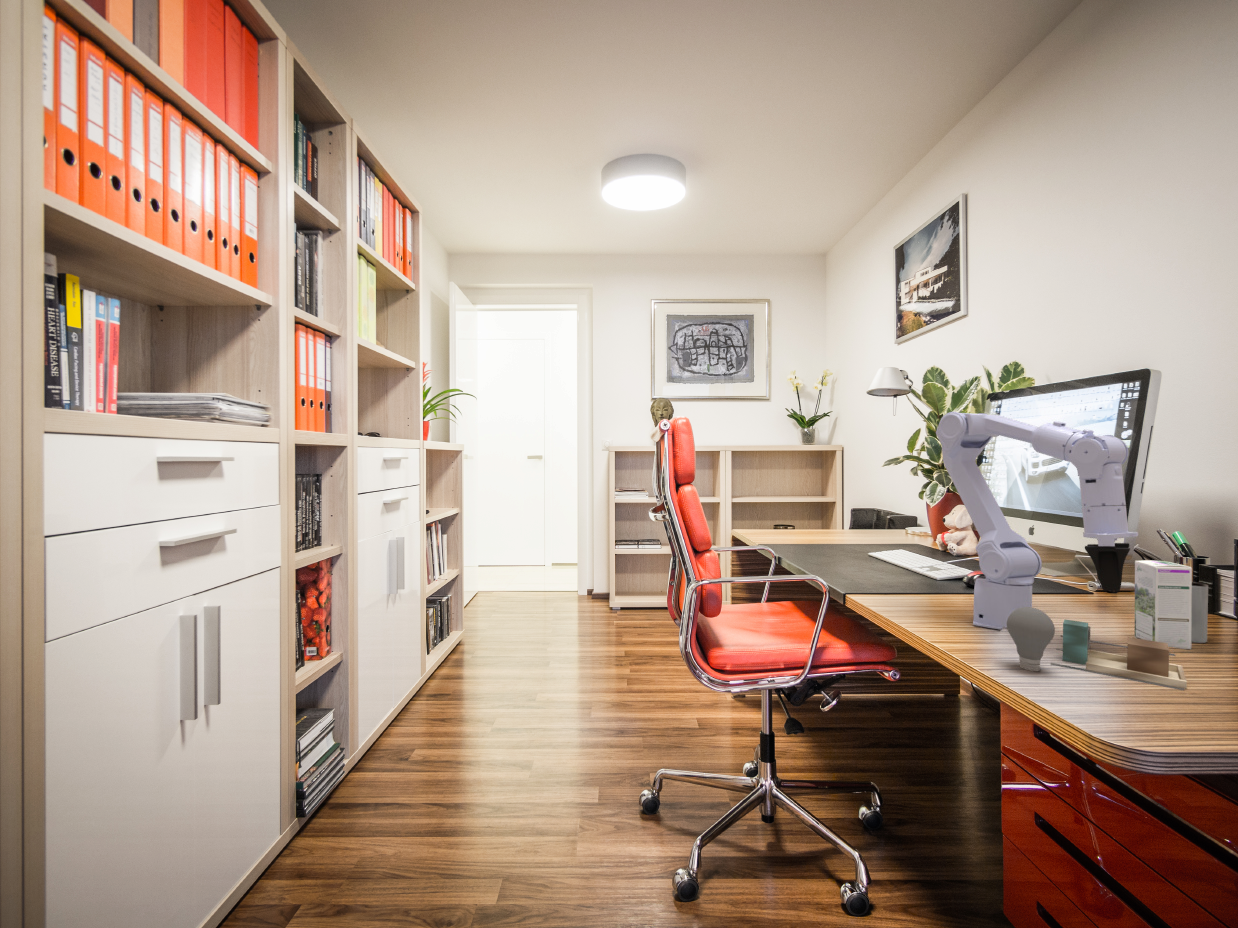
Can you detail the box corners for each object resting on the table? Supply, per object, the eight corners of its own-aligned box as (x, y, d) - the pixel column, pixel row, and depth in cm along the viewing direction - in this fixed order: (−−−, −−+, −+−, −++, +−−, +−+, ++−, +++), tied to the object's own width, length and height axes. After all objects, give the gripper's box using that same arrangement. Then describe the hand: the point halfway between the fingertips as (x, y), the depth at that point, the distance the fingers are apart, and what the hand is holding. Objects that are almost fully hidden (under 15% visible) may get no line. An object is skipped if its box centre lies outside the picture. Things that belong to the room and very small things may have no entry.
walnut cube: (1127, 673, 87) (1127, 643, 87) (1126, 665, 90) (1127, 636, 90) (1168, 681, 84) (1169, 650, 84) (1166, 672, 87) (1167, 643, 87)
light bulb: (1045, 668, 91) (1046, 604, 91) (1060, 682, 85) (1061, 614, 85) (1000, 663, 93) (1002, 601, 92) (1012, 676, 87) (1013, 610, 87)
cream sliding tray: (1061, 668, 90) (1061, 626, 90) (1065, 654, 97) (1065, 615, 97) (1186, 692, 81) (1187, 646, 81) (1181, 676, 88) (1182, 633, 88)
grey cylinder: (1165, 635, 109) (1166, 580, 109) (1187, 635, 109) (1188, 580, 109) (1191, 643, 104) (1192, 586, 104) (1214, 642, 105) (1215, 585, 104)
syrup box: (1193, 649, 101) (1195, 566, 100) (1153, 647, 102) (1155, 564, 102) (1169, 639, 106) (1170, 560, 106) (1131, 637, 107) (1133, 559, 107)
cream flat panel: (1065, 653, 98) (1066, 630, 98) (1069, 642, 104) (1069, 619, 104) (1176, 674, 89) (1177, 648, 89) (1173, 659, 95) (1173, 635, 95)
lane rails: (1050, 668, 91) (1050, 663, 91) (1060, 639, 106) (1060, 635, 106) (1184, 695, 81) (1184, 689, 81) (1174, 658, 96) (1175, 654, 96)
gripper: (1136, 505, 90) (1145, 594, 89) (1134, 505, 101) (1142, 584, 100) (1078, 506, 95) (1086, 591, 93) (1082, 506, 105) (1089, 582, 104)
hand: (1111, 587), depth 97 cm, fingers open, 7 cm apart
